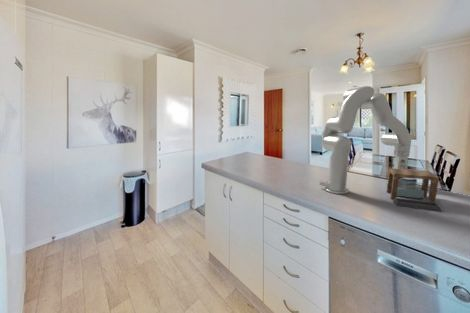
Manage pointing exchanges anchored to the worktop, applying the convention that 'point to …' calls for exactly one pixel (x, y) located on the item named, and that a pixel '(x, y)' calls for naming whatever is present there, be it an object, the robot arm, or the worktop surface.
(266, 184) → the worktop surface
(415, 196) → the grey-green low block
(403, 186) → the medicine box
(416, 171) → the tunnel
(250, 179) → the worktop surface
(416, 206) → the dark grey flat slab
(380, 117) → the robot arm
